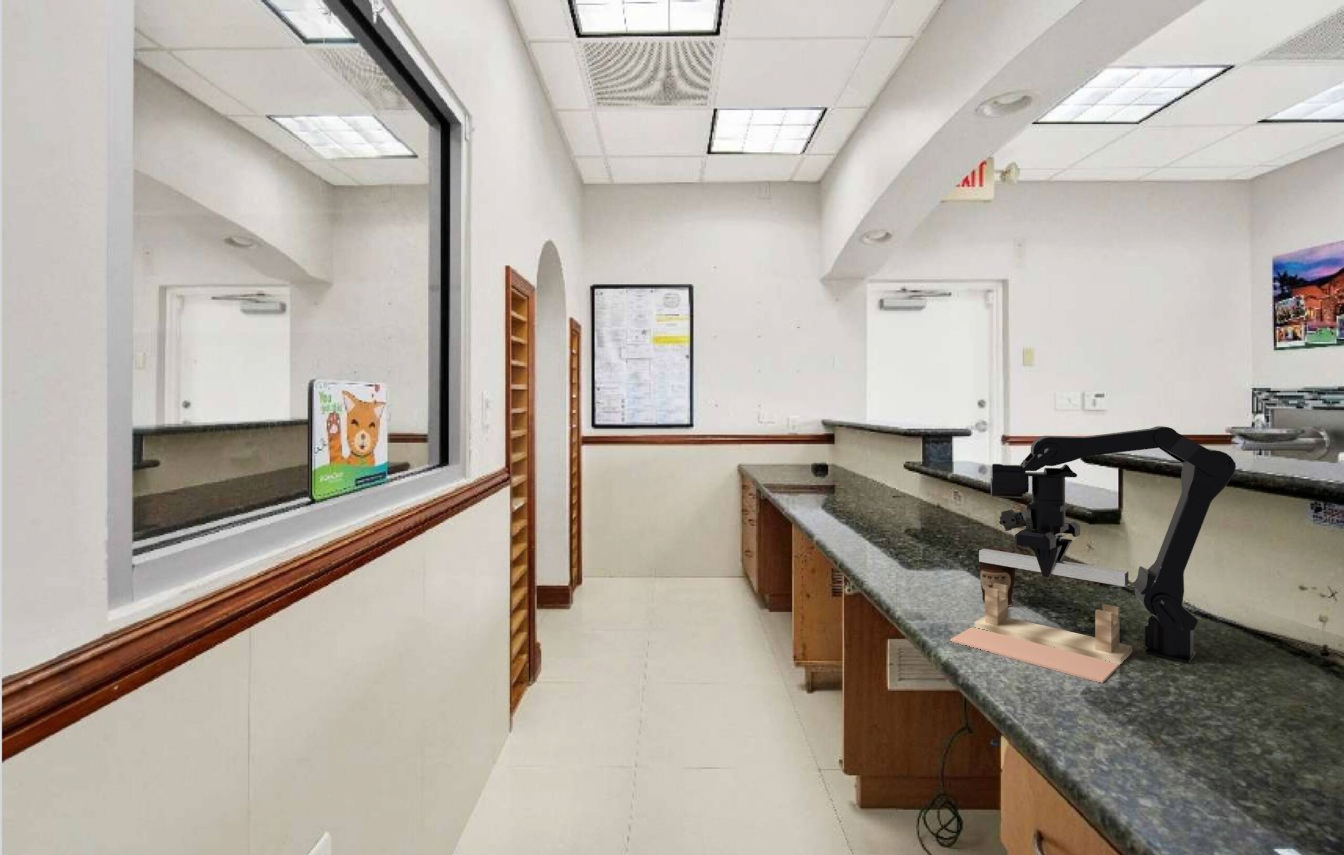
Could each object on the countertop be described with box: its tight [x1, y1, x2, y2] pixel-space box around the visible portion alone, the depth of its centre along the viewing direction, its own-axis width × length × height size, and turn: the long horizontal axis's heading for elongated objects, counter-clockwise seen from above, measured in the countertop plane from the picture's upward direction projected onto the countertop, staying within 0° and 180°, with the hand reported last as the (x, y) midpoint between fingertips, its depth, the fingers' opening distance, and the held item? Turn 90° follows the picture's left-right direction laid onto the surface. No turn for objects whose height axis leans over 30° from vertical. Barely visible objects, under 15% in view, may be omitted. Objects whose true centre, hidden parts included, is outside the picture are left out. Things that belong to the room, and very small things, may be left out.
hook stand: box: [973, 583, 1133, 665], centre depth 124 cm, size 26×8×9 cm, turn 41°
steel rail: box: [978, 548, 1129, 587], centre depth 124 cm, size 26×2×2 cm, turn 41°
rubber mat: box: [949, 626, 1120, 684], centre depth 118 cm, size 26×10×1 cm, turn 41°
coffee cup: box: [977, 546, 1016, 607], centre depth 146 cm, size 9×8×13 cm
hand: (1048, 575), depth 124 cm, fingers closed on steel rail, 2 cm apart
